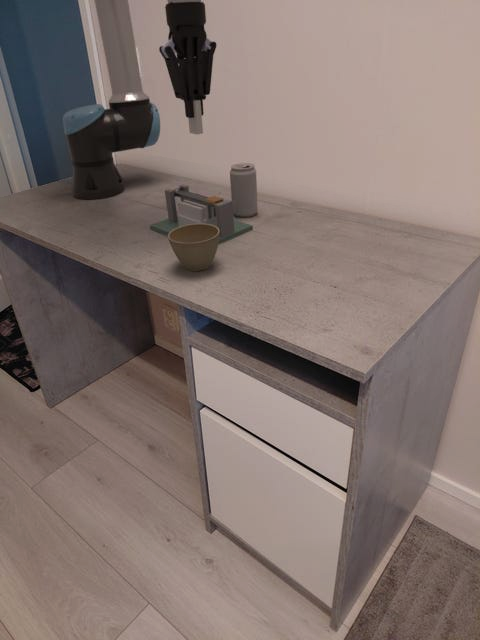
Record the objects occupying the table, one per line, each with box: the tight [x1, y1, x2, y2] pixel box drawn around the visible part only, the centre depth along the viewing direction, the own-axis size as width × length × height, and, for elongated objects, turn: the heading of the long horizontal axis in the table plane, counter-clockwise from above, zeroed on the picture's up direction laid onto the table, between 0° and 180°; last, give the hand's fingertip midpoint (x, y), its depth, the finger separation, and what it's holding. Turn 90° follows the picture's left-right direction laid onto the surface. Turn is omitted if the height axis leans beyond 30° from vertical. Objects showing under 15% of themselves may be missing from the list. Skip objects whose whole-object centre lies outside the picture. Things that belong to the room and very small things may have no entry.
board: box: [149, 184, 254, 245], centre depth 110 cm, size 20×15×8 cm
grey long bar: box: [172, 188, 225, 208], centre depth 108 cm, size 16×3×2 cm, turn 45°
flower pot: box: [167, 223, 220, 272], centre depth 93 cm, size 10×10×7 cm
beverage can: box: [229, 162, 259, 218], centre depth 116 cm, size 6×6×12 cm
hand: (196, 133), depth 102 cm, fingers closed
